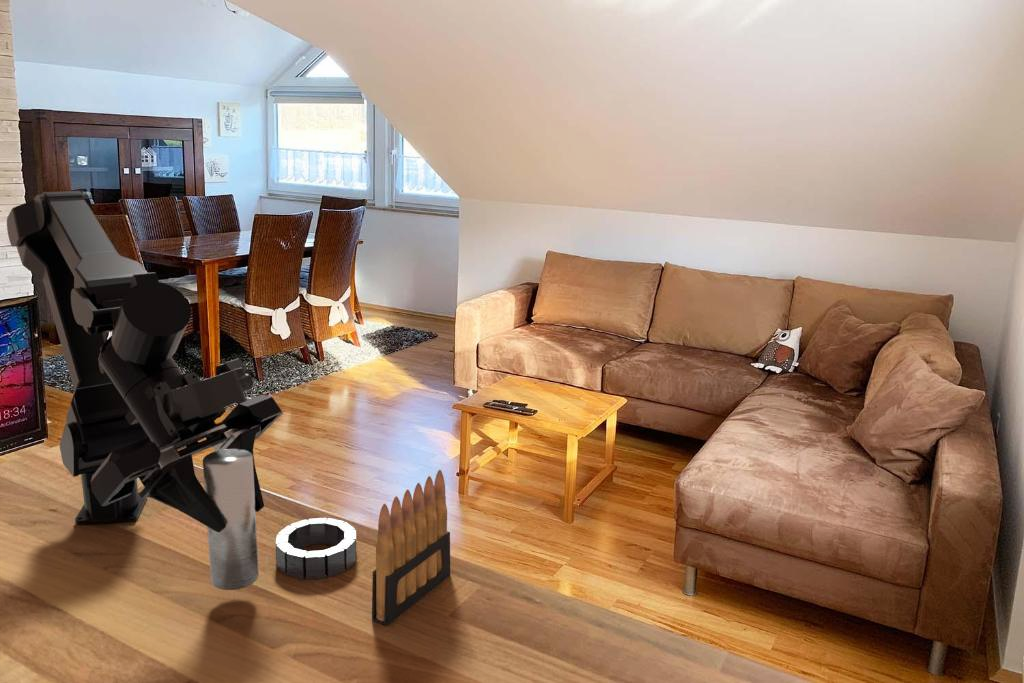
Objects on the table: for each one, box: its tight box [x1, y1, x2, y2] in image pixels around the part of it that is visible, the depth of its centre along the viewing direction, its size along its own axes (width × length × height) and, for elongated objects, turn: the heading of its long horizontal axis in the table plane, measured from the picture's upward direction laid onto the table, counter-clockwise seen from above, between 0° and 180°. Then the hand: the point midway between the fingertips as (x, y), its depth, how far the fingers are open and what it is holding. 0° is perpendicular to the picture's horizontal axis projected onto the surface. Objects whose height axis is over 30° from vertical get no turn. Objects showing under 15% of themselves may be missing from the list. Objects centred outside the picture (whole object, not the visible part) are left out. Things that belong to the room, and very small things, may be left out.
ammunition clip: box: [371, 469, 451, 626], centre depth 83 cm, size 11×2×12 cm, turn 150°
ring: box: [275, 517, 357, 580], centre depth 91 cm, size 8×8×2 cm
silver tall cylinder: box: [202, 449, 260, 591], centre depth 81 cm, size 4×4×12 cm
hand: (242, 519), depth 80 cm, fingers closed on silver tall cylinder, 4 cm apart
